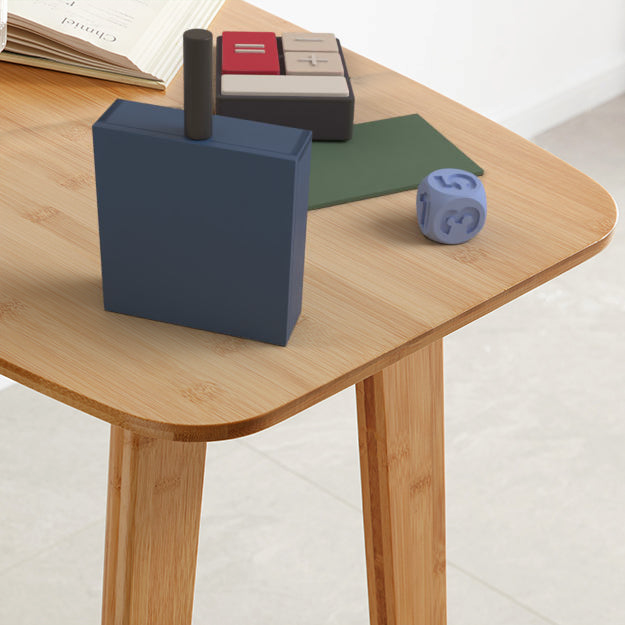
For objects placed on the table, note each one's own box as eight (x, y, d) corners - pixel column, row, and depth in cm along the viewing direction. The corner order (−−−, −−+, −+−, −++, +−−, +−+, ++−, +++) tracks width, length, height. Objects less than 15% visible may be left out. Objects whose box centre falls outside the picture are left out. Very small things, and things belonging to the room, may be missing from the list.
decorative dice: (413, 217, 83) (419, 169, 81) (465, 213, 84) (472, 166, 82) (428, 246, 80) (435, 197, 78) (482, 243, 81) (490, 194, 78)
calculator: (339, 28, 101) (356, 90, 89) (337, 75, 104) (353, 141, 91) (216, 26, 100) (215, 87, 88) (216, 73, 103) (215, 139, 90)
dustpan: (285, 346, 70) (301, 58, 59) (103, 310, 72) (84, 24, 61) (301, 312, 73) (318, 31, 62) (126, 277, 75) (111, 0, 64)
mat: (197, 233, 80) (197, 228, 80) (147, 164, 87) (147, 160, 87) (483, 174, 89) (484, 170, 89) (416, 117, 96) (417, 113, 96)
